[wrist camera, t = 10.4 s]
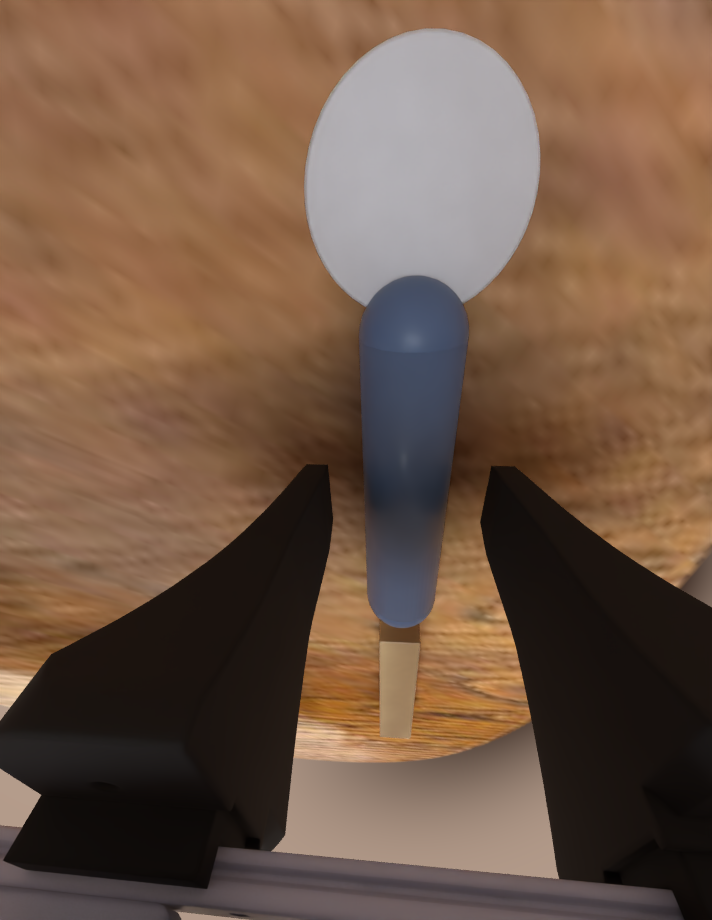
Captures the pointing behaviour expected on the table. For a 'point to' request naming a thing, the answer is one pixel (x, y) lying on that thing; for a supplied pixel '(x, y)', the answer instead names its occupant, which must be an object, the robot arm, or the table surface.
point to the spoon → (417, 267)
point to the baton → (397, 678)
